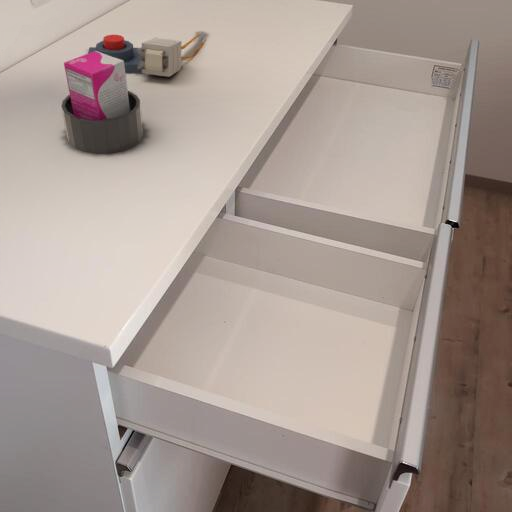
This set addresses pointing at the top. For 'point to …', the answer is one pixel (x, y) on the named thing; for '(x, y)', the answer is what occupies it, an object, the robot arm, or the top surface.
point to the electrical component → (162, 56)
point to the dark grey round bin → (104, 129)
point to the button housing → (122, 55)
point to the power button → (114, 42)
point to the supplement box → (97, 86)
